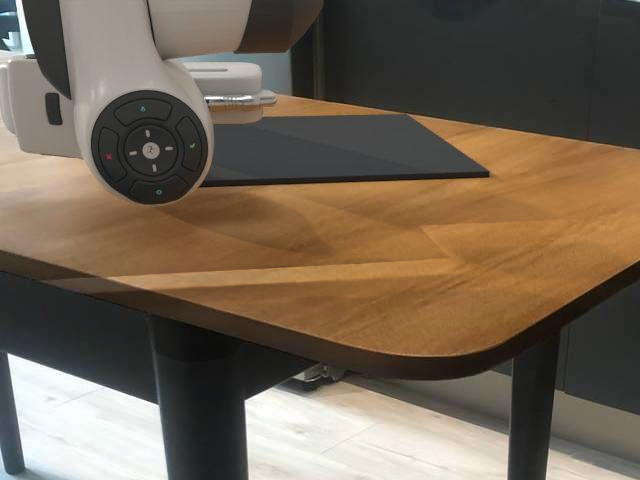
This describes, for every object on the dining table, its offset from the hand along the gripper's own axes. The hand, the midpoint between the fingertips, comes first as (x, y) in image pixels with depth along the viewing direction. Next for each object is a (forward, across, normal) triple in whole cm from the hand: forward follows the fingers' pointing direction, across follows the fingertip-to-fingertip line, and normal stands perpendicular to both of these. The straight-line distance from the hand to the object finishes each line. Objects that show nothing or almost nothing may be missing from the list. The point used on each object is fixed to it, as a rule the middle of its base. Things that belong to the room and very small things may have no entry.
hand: (129, 77), depth 90 cm
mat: (+12, -14, +8) cm, 21 cm away
